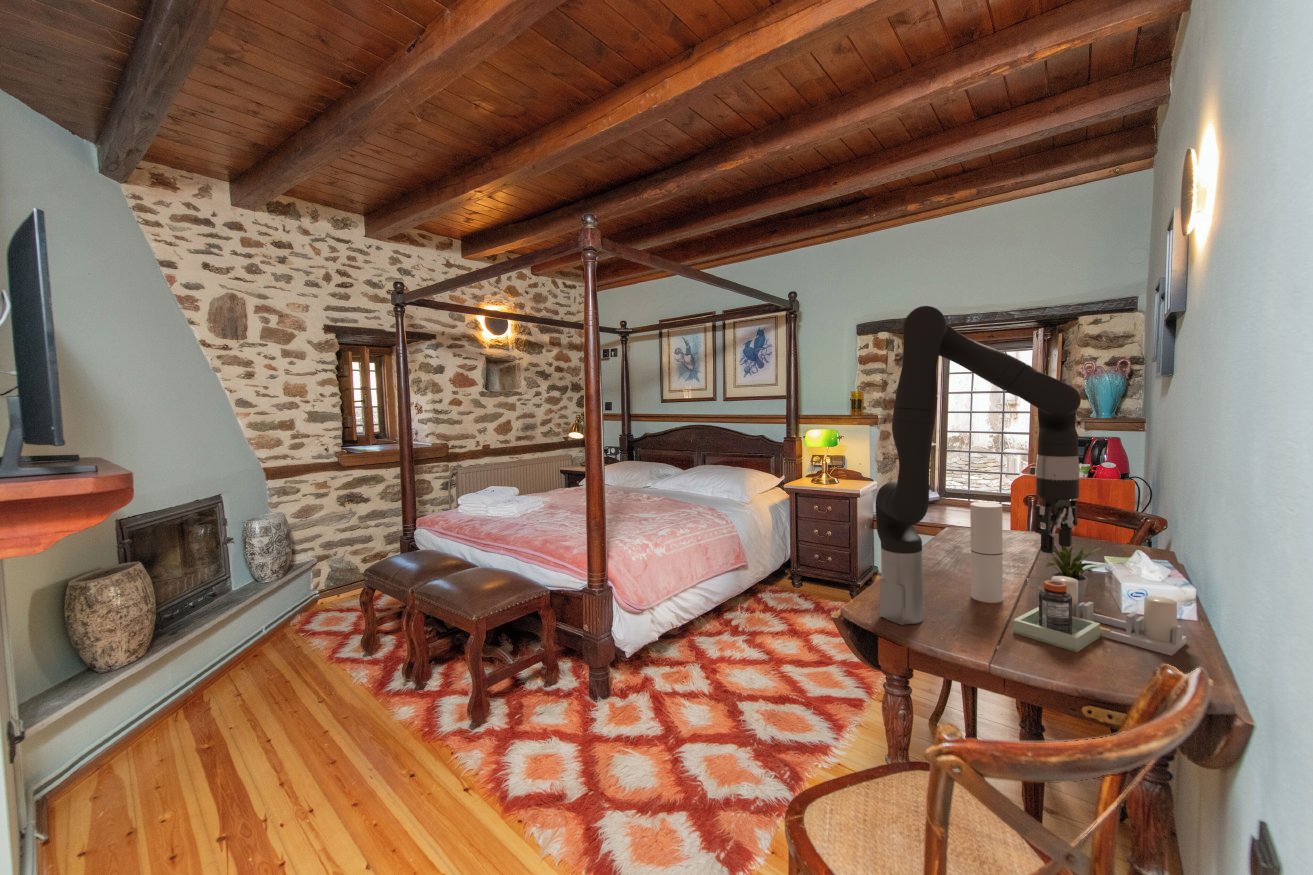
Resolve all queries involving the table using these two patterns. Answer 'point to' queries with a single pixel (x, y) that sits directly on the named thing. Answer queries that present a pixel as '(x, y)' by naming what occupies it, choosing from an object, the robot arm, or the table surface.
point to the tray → (1079, 639)
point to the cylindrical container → (986, 552)
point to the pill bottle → (1055, 607)
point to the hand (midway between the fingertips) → (1056, 549)
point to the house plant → (1072, 567)
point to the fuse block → (1136, 621)
